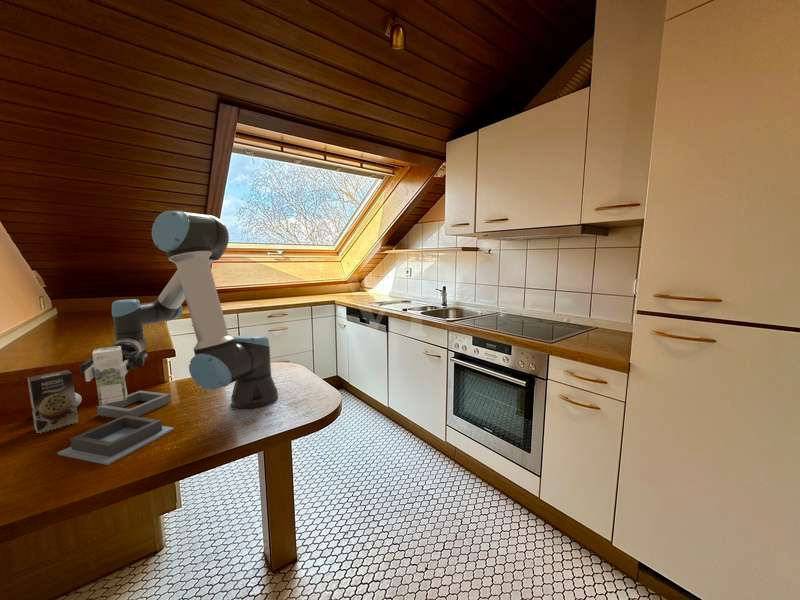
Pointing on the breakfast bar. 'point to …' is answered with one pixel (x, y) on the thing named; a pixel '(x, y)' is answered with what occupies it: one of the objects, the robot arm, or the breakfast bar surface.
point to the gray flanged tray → (115, 439)
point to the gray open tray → (152, 403)
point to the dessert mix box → (52, 400)
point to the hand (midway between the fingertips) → (104, 373)
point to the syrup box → (109, 375)
